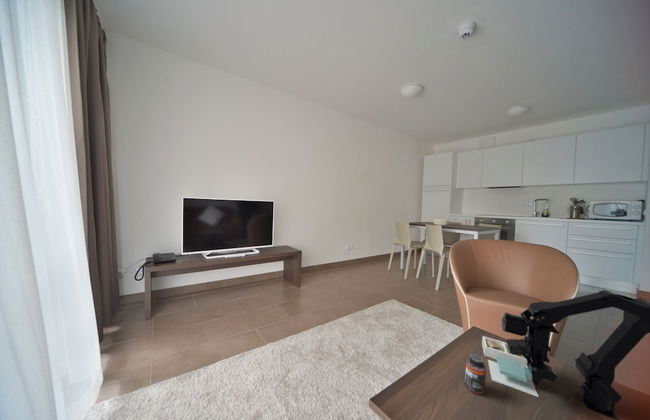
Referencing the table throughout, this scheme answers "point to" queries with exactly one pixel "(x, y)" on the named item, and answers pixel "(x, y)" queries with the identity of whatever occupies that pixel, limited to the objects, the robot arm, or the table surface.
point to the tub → (493, 352)
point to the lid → (513, 369)
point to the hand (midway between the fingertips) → (533, 380)
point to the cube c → (494, 345)
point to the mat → (511, 380)
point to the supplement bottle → (475, 374)
